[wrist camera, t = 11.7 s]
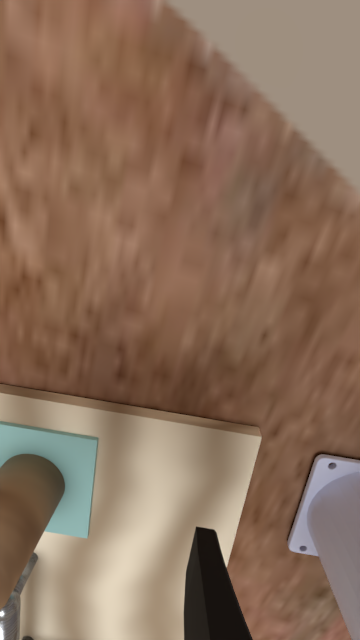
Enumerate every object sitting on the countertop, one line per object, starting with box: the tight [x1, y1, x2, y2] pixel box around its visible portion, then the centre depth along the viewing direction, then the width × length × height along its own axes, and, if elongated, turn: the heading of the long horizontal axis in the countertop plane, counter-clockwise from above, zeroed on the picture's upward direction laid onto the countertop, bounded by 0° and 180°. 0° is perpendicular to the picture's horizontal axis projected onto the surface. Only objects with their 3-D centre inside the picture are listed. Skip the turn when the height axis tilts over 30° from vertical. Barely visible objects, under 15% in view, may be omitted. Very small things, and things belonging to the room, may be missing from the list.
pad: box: [0, 421, 99, 538], centre depth 20 cm, size 8×8×1 cm
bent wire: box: [0, 552, 38, 640], centre depth 21 cm, size 8×11×4 cm
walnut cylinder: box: [0, 454, 65, 610], centre depth 17 cm, size 4×4×6 cm
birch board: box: [0, 384, 262, 640], centre depth 22 cm, size 20×26×1 cm
